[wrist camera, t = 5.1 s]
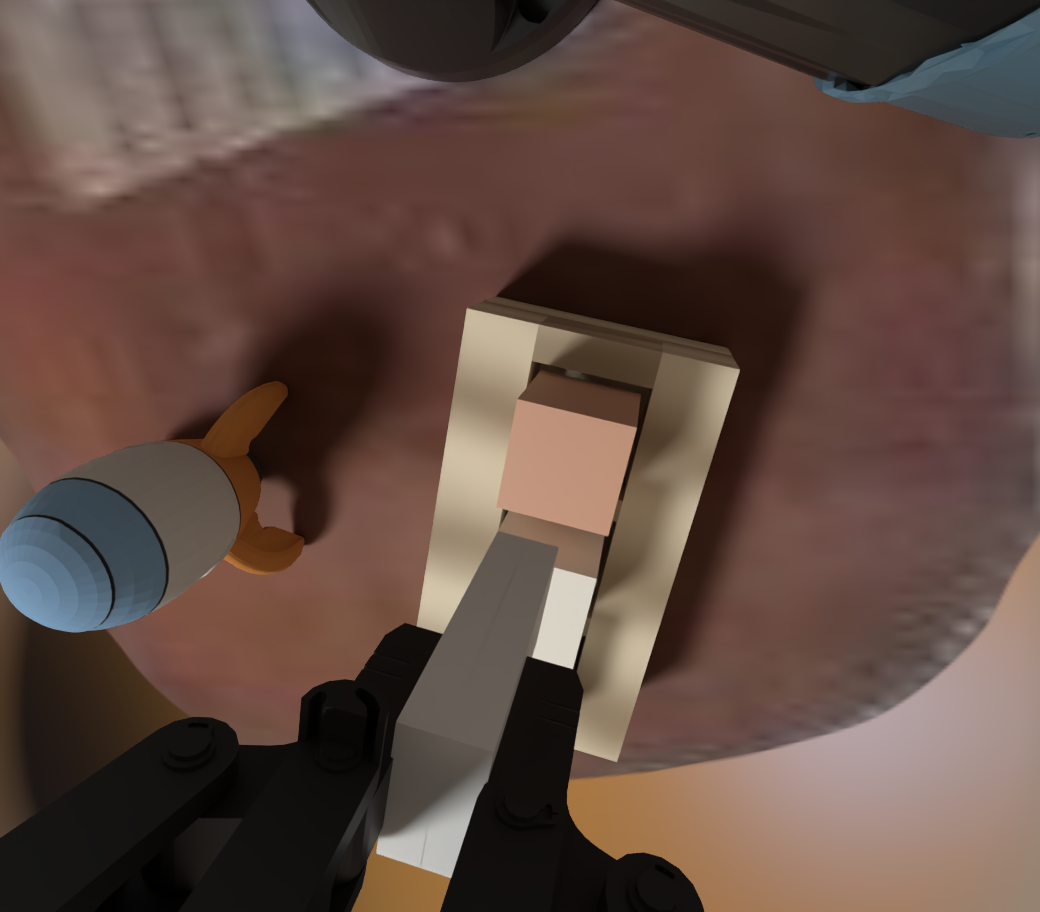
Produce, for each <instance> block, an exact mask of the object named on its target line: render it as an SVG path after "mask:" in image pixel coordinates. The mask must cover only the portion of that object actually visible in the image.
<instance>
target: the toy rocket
mask: <svg viewBox="0 0 1040 912" xmlns="http://www.w3.org/2000/svg"><path fill="white" fill-rule="evenodd" d="M287 396H288V389H287V386H286V385H285V384H284V383H281V382H278V381H274V382H270V383H266V384H263V385H261V386H259V387H257V388H255V389H253V390H251V391H249V392H247V393H246V394H244V395H243V396H242V397H240V398H239V399H238V400H237V401H235V402H234V403H233V404H232V405H231V406H230V407H229V408H228V409H227V410H226V411H225V412H224V413H223V414H222V415H221V416H220V418H219V419H218V420H217V421H216V423H215V424H214V425H213V426H212V428H211V429H210V431H209V432H208V433H207V435H206V436H205V438H204V439H178V440H165V441H153V442H145V443H141V444H137V445H133V446H129V447H126V448H123V449H120V450H117V451H115V452H113V453H111V454H108V455H105V456H103V457H100V458H97V459H95V460H92V461H90V462H88V463H85V464H83V465H81V466H79V467H77V468H75V469H73V470H71V471H70V472H68V473H66V474H64V475H62V476H61V477H59V478H58V479H56V480H55V481H53V482H52V483H50V484H49V485H47V486H46V487H45V488H43V489H42V490H41V491H39V492H38V493H37V494H36V495H35V496H33V497H32V498H31V499H30V500H29V501H28V502H27V503H26V505H25V506H24V507H23V508H22V509H21V510H20V511H19V513H18V514H17V515H16V516H15V518H14V519H13V520H12V522H11V523H10V525H9V526H8V527H7V529H6V530H5V531H4V532H3V534H2V536H1V539H0V582H1V585H2V587H3V590H4V592H5V593H6V595H7V597H8V598H9V600H10V601H11V602H12V603H13V605H14V606H15V607H16V608H17V609H18V610H19V611H20V612H21V613H23V614H24V615H26V616H27V617H29V618H30V619H32V620H34V621H36V622H38V623H40V624H42V625H44V626H47V627H50V628H53V629H58V630H62V631H68V632H84V631H88V630H101V629H106V628H110V627H114V626H118V625H122V624H125V623H129V622H131V621H134V620H137V619H139V618H142V617H144V616H145V615H147V614H149V613H151V612H153V611H155V610H157V609H159V608H160V607H162V606H164V605H165V604H167V603H169V602H170V601H172V600H173V599H175V598H176V597H178V596H179V595H181V594H182V593H183V592H184V591H186V590H187V589H188V588H189V587H191V586H192V585H193V584H194V583H195V582H197V581H198V580H199V579H200V578H202V577H204V576H206V575H207V574H208V573H209V572H210V571H211V570H212V569H213V568H214V567H215V566H216V565H217V564H218V563H219V562H221V561H222V560H223V559H225V560H226V561H228V562H229V563H231V564H233V565H234V566H236V567H237V568H239V569H242V570H244V571H247V572H249V573H254V574H260V575H263V574H274V573H277V572H280V571H283V570H285V569H286V568H288V567H289V566H291V565H292V564H293V563H294V561H295V560H296V559H297V558H298V557H299V556H300V554H301V552H302V549H303V546H304V537H302V536H299V535H296V534H293V533H290V532H287V531H284V530H282V529H279V528H276V527H265V528H262V527H261V525H260V523H259V521H258V516H257V513H256V512H255V509H256V507H257V504H258V501H259V498H260V492H261V485H260V484H261V481H262V471H261V467H260V465H259V463H258V461H257V459H256V458H255V457H254V456H253V455H252V454H251V453H250V452H249V445H250V442H251V440H252V439H253V438H255V437H256V436H257V435H258V434H259V433H260V431H261V430H262V429H263V427H264V426H265V425H266V423H267V422H268V421H269V419H270V418H271V417H272V415H273V414H274V413H275V411H276V410H277V409H278V407H279V406H280V405H281V403H282V402H283V401H284V399H285V398H286V397H287Z"/></svg>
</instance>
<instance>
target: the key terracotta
mask: <svg viewBox="0 0 1040 912" xmlns="http://www.w3.org/2000/svg"><path fill="white" fill-rule="evenodd" d="M640 397H641V393H637V392H633V391H629V390H624V389H620V388H616V387H611V386H607V385H603V384H599V383H594V382H590V381H586V380H581V379H577V378H573V377H568V376H564V375H560V374H556V373H551V372H547V371H543V370H541V371H540V372H539V373H538V375H537V376H536V377H535V378H534V379H533V381H532V382H531V383H530V384H529V386H528V387H527V388H526V389H525V390H524V392H523V393H522V394H521V395H520V396H519V398H518V399H517V403H516V408H515V413H514V418H513V424H512V429H511V434H510V439H509V444H508V449H507V454H506V460H505V465H504V470H503V475H502V480H501V485H500V491H499V496H498V501H497V506H496V507H497V508H501V509H505V510H509V511H512V512H516V513H520V514H524V515H528V516H532V517H535V518H539V519H543V520H547V521H551V522H555V523H558V524H562V525H566V526H570V527H574V528H578V529H581V530H585V531H589V532H593V533H597V534H601V535H604V536H608V535H609V531H610V527H611V524H612V520H613V516H614V512H615V509H616V505H617V501H618V497H619V494H620V490H621V486H622V482H623V478H624V475H625V471H626V467H627V463H628V460H629V456H630V452H631V448H632V445H633V441H634V437H635V433H636V430H637V423H638V415H639V406H640Z"/></svg>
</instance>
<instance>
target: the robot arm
mask: <svg viewBox="0 0 1040 912" xmlns="http://www.w3.org/2000/svg"><path fill="white" fill-rule="evenodd" d="M306 1H307V2H308V3H309V4H310V5H311V7H312V8H313V9H314V10H315V11H316V12H317V14H318V15H319V16H320V17H321V18H322V19H323V20H324V21H325V22H326V23H327V24H328V25H329V26H330V27H331V28H332V29H333V30H335V31H336V32H337V33H338V34H339V35H340V36H341V37H343V38H344V39H345V40H347V41H348V42H349V43H351V44H352V45H354V46H355V47H357V48H358V49H360V50H362V51H363V52H365V53H367V54H368V55H370V56H372V57H373V58H375V59H377V60H378V61H380V62H382V63H384V64H386V65H387V66H389V67H391V68H393V69H396V70H398V71H401V72H403V73H406V74H409V75H412V76H415V77H419V78H423V79H428V80H434V81H442V82H467V81H475V80H481V79H486V78H490V77H494V76H497V75H500V74H504V73H506V72H509V71H511V70H514V69H516V68H518V67H520V66H522V65H524V64H526V63H528V62H530V61H532V60H534V59H535V58H537V57H539V56H540V55H542V54H543V53H545V52H546V51H547V50H549V49H550V48H552V47H553V46H554V45H555V44H557V43H558V42H559V41H560V40H561V39H563V38H564V37H565V36H566V35H567V34H568V33H569V32H570V31H571V30H572V29H573V28H574V27H575V26H576V25H577V24H578V23H579V22H580V21H581V20H582V19H583V18H584V16H585V15H586V14H587V13H588V12H589V10H590V9H591V8H592V6H593V5H594V4H595V3H596V1H597V0H306ZM615 1H618V2H621V3H623V4H626V5H628V6H631V7H634V8H636V9H639V10H641V11H644V12H647V13H649V14H652V15H654V16H657V17H660V18H662V19H665V20H667V21H670V22H673V23H675V24H678V25H680V26H683V27H686V28H688V29H691V30H693V31H696V32H698V33H701V34H704V35H706V36H709V37H711V38H714V39H717V40H719V41H722V42H724V43H727V44H730V45H732V46H735V47H737V48H740V49H743V50H745V51H748V52H750V53H753V54H756V55H758V56H761V57H763V58H766V59H769V60H771V61H774V62H776V63H779V64H782V65H784V66H787V67H789V68H792V69H794V70H797V71H800V72H802V73H805V74H807V75H810V76H813V77H814V81H815V85H816V87H817V88H818V89H819V90H820V91H822V92H824V93H826V94H828V95H830V96H833V97H835V98H837V99H841V100H844V101H848V102H887V103H890V104H893V105H896V106H899V107H902V108H905V109H908V110H911V111H914V112H917V113H920V114H923V115H926V116H929V117H932V118H935V119H939V120H942V121H945V122H948V123H951V124H954V125H957V126H960V127H963V128H966V129H969V130H972V131H976V132H980V133H983V134H987V135H992V136H999V137H1012V138H1032V137H1038V136H1040V0H615ZM558 549H559V547H557V546H553V545H549V544H545V543H541V542H538V541H534V540H530V539H526V538H522V537H519V536H515V535H511V534H507V533H503V532H500V531H498V532H497V534H496V535H495V537H494V539H493V541H492V543H491V545H490V547H489V549H488V550H487V552H486V554H485V556H484V558H483V560H482V562H481V564H480V565H479V567H478V569H477V571H476V573H475V575H474V577H473V579H472V580H471V582H470V584H469V586H468V588H467V590H466V592H465V594H464V595H463V597H462V599H461V601H460V603H459V605H458V607H457V609H456V610H455V612H454V614H453V616H452V618H451V620H450V622H449V624H448V625H447V627H446V629H445V631H444V633H443V634H442V633H438V632H435V631H431V630H428V629H424V628H421V627H417V626H414V625H410V624H407V623H404V624H402V625H401V626H399V627H398V628H396V629H394V630H393V631H391V632H389V633H388V634H386V635H385V636H384V638H383V639H382V641H381V642H380V644H379V645H378V647H377V648H376V650H375V651H374V654H373V655H372V656H371V657H370V659H369V660H368V662H367V663H366V664H365V667H364V669H362V670H361V672H360V673H359V675H358V676H357V678H356V679H355V681H353V680H346V679H344V680H336V681H328V682H326V683H323V684H321V685H318V686H316V687H314V688H312V689H311V690H310V691H309V692H308V693H306V694H305V695H304V696H303V697H302V698H301V710H300V722H299V734H298V741H297V742H294V743H290V744H285V745H273V746H264V745H239V743H238V739H237V735H236V732H235V731H234V730H233V729H232V728H231V727H230V726H229V725H228V724H227V723H225V722H222V721H219V720H217V719H214V718H209V717H191V718H187V719H182V720H178V721H174V722H172V723H170V724H168V725H166V726H164V727H162V728H160V729H158V730H157V731H155V732H154V733H152V734H151V735H149V736H148V737H146V738H145V739H143V740H142V741H141V742H139V743H138V744H136V745H135V746H133V747H132V748H130V749H129V750H128V751H126V752H125V753H124V754H122V755H120V756H119V757H117V758H116V759H115V760H113V761H112V762H110V763H109V764H107V765H106V766H104V767H103V768H101V769H100V770H99V771H97V772H96V773H94V774H93V775H91V776H90V777H88V778H87V779H85V780H84V781H83V782H81V783H80V784H78V785H77V786H75V787H74V788H73V789H71V790H70V791H68V792H67V793H65V794H64V795H62V796H61V797H59V798H58V799H56V800H55V801H54V802H52V803H51V804H49V805H48V806H46V807H45V808H44V809H42V810H41V811H39V812H38V813H36V814H35V815H33V816H32V817H30V818H29V819H27V820H26V821H25V822H23V823H22V824H20V825H19V826H17V827H16V828H14V829H13V830H11V831H10V832H9V833H7V834H6V835H4V836H3V837H1V838H0V912H351V910H352V908H353V906H354V904H355V902H356V899H357V897H358V895H359V892H360V890H361V888H362V885H363V881H364V876H365V872H366V865H367V859H368V857H369V855H370V853H371V851H372V849H373V846H374V844H375V842H376V840H377V838H378V836H379V838H378V845H377V854H380V855H383V856H386V857H389V858H392V859H395V860H398V861H401V862H404V863H407V864H410V865H413V866H416V867H419V868H422V869H425V870H428V871H431V872H434V873H437V874H440V875H443V876H446V877H449V878H451V880H450V883H449V886H448V889H447V892H446V895H445V898H444V902H443V904H442V908H441V911H440V912H704V909H703V905H702V903H701V900H700V898H699V896H698V894H697V892H696V890H695V888H694V885H693V884H692V883H691V882H690V881H689V879H688V878H687V877H686V876H685V875H684V874H683V873H682V871H681V870H680V869H679V868H677V867H676V866H674V865H673V864H671V863H669V862H668V861H666V860H665V859H663V858H662V857H658V856H654V855H651V854H647V853H633V854H626V855H625V856H623V857H622V858H620V859H618V860H616V859H614V858H613V857H611V856H609V855H608V854H606V853H605V852H604V851H602V850H600V849H599V848H597V847H596V846H595V845H594V844H592V843H591V842H590V841H589V840H588V839H586V838H585V837H584V836H583V834H582V833H581V832H580V831H579V830H578V828H577V827H576V826H575V824H574V822H573V820H572V818H571V816H570V814H569V810H568V806H567V789H568V782H569V777H570V771H571V764H572V758H573V752H574V746H575V740H576V734H577V728H578V722H579V716H580V710H581V704H582V698H583V692H584V690H583V687H582V684H581V682H580V679H579V676H578V674H577V671H576V670H574V669H571V668H567V667H564V666H560V665H557V664H553V663H550V662H546V661H543V660H539V659H536V658H532V656H533V653H534V649H535V646H536V643H537V639H538V634H539V630H540V626H541V622H542V617H543V613H544V609H545V605H546V600H547V596H548V592H549V588H550V583H551V579H552V575H553V571H554V566H555V562H556V558H557V553H558Z"/></svg>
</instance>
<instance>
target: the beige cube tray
mask: <svg viewBox="0 0 1040 912" xmlns="http://www.w3.org/2000/svg"><path fill="white" fill-rule="evenodd" d="M541 370H543V371H547V372H551V373H556V374H560V375H564V376H568V377H573V378H577V379H581V380H586V381H590V382H594V383H599V384H603V385H607V386H611V387H616V388H620V389H624V390H629V391H633V392H637V393H641V397H640V406H639V415H638V423H637V430H636V433H635V437H634V441H633V445H632V448H631V452H630V456H629V460H628V463H627V467H626V471H625V475H624V478H623V482H622V486H621V490H620V494H619V497H618V501H617V505H616V509H615V512H614V516H613V520H612V524H611V527H610V531H609V535H608V536H604V542H603V547H602V553H601V558H600V564H599V569H598V575H597V580H596V584H595V588H594V591H593V595H592V599H591V603H590V606H589V610H588V614H587V618H586V621H585V625H584V629H583V633H582V636H581V640H580V644H579V648H578V652H577V655H576V659H575V663H574V667H573V669H574V670H576V671H577V674H578V676H579V679H580V682H581V684H582V687H583V690H584V692H583V698H582V704H581V710H580V716H579V722H578V728H577V734H576V740H575V746H574V749H576V750H579V751H582V752H586V753H589V754H592V755H595V756H599V757H602V758H605V759H609V760H612V761H615V762H617V760H618V757H619V753H620V750H621V747H622V744H623V741H624V737H625V734H626V731H627V728H628V725H629V722H630V718H631V715H632V712H633V709H634V706H635V702H636V699H637V696H638V693H639V690H640V687H641V683H642V680H643V677H644V674H645V671H646V668H647V664H648V661H649V658H650V655H651V652H652V648H653V645H654V642H655V639H656V636H657V633H658V629H659V626H660V623H661V620H662V617H663V613H664V610H665V607H666V604H667V601H668V598H669V594H670V591H671V588H672V585H673V582H674V578H675V575H676V572H677V569H678V566H679V563H680V559H681V556H682V553H683V550H684V547H685V543H686V540H687V537H688V534H689V531H690V528H691V524H692V521H693V518H694V515H695V512H696V508H697V505H698V502H699V499H700V496H701V493H702V489H703V486H704V483H705V480H706V477H707V474H708V470H709V467H710V464H711V461H712V458H713V454H714V451H715V448H716V445H717V442H718V439H719V435H720V432H721V429H722V426H723V423H724V419H725V416H726V413H727V410H728V407H729V404H730V400H731V397H732V394H733V391H734V388H735V384H736V381H737V378H738V375H739V372H740V369H739V367H738V365H737V363H736V362H735V360H734V358H733V356H732V354H731V353H730V351H729V349H728V348H726V347H722V346H717V345H713V344H708V343H704V342H699V341H695V340H690V339H686V338H681V337H677V336H672V335H668V334H663V333H659V332H654V331H650V330H645V329H641V328H636V327H632V326H627V325H623V324H618V323H614V322H609V321H605V320H600V319H595V318H591V317H586V316H582V315H577V314H573V313H568V312H564V311H559V310H555V309H550V308H546V307H541V306H537V305H532V304H528V303H523V302H519V301H514V300H510V299H505V298H501V297H496V296H495V297H493V298H490V299H488V300H486V301H483V302H481V303H479V304H476V305H474V306H471V307H469V308H467V312H466V318H465V325H464V331H463V337H462V344H461V350H460V356H459V363H458V369H457V375H456V382H455V388H454V394H453V401H452V407H451V413H450V420H449V426H448V432H447V439H446V445H445V451H444V458H443V464H442V470H441V477H440V483H439V489H438V496H437V502H436V508H435V515H434V521H433V527H432V534H431V540H430V546H429V553H428V559H427V565H426V572H425V578H424V585H423V591H422V597H421V604H420V610H419V616H418V623H417V627H421V628H424V629H428V630H431V631H435V632H438V633H442V634H443V633H444V631H445V629H446V627H447V625H448V624H449V622H450V620H451V618H452V616H453V614H454V612H455V610H456V609H457V607H458V605H459V603H460V601H461V599H462V597H463V595H464V594H465V592H466V590H467V588H468V586H469V584H470V582H471V580H472V579H473V577H474V575H475V573H476V571H477V569H478V567H479V565H480V564H481V562H482V560H483V558H484V556H485V554H486V552H487V550H488V549H489V547H490V545H491V543H492V541H493V539H494V537H495V535H496V534H497V532H498V530H499V528H500V526H501V524H502V523H503V521H504V519H505V517H506V515H507V513H508V511H509V510H505V509H501V508H497V507H496V506H497V501H498V496H499V491H500V485H501V480H502V475H503V470H504V465H505V460H506V454H507V449H508V444H509V439H510V434H511V429H512V424H513V418H514V413H515V408H516V403H517V399H518V398H519V396H520V395H521V394H522V393H523V392H524V390H525V389H526V388H527V387H528V386H529V384H530V383H531V382H532V381H533V379H534V378H535V377H536V376H537V375H538V373H539V372H540V371H541Z"/></svg>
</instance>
